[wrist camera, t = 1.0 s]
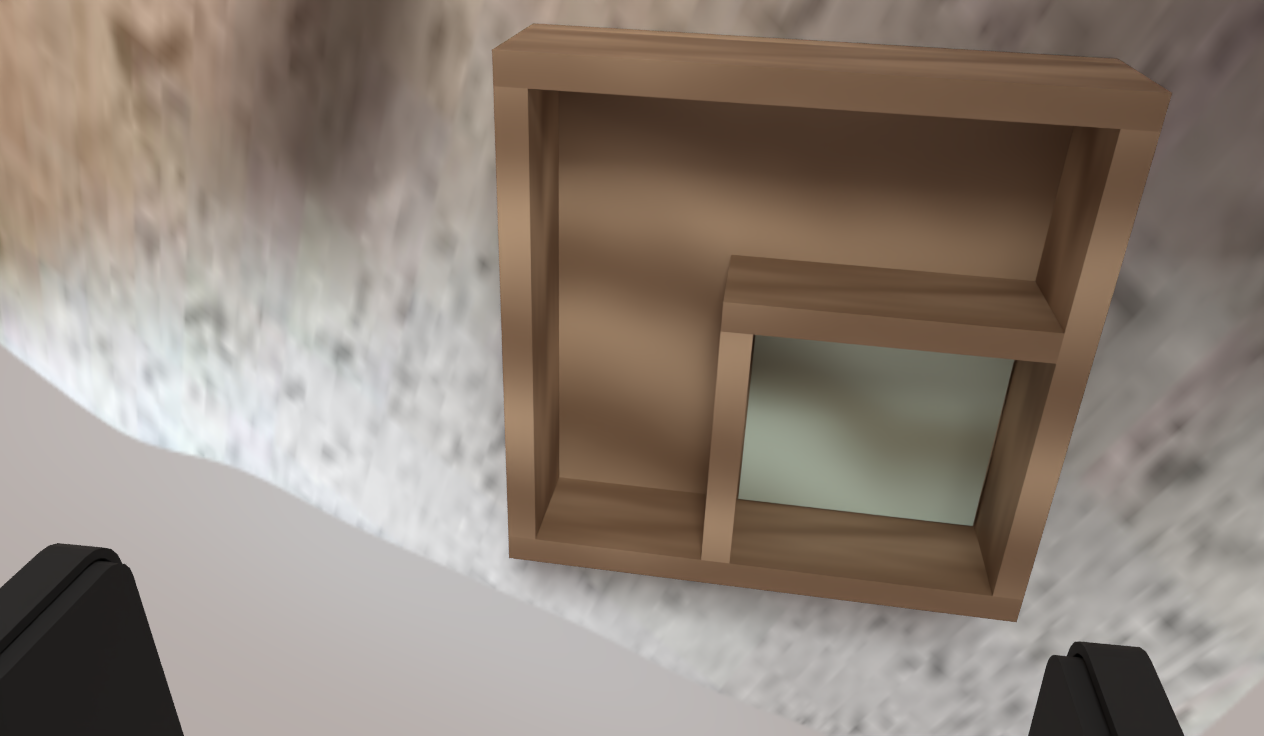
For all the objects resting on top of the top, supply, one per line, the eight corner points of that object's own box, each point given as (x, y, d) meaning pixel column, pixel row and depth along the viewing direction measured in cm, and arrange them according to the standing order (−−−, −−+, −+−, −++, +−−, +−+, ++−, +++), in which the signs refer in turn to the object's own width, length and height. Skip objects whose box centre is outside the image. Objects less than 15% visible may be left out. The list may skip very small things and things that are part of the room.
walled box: (533, 23, 31) (492, 49, 27) (1117, 58, 29) (1172, 92, 25) (539, 483, 40) (509, 557, 35) (992, 536, 38) (1016, 622, 33)
